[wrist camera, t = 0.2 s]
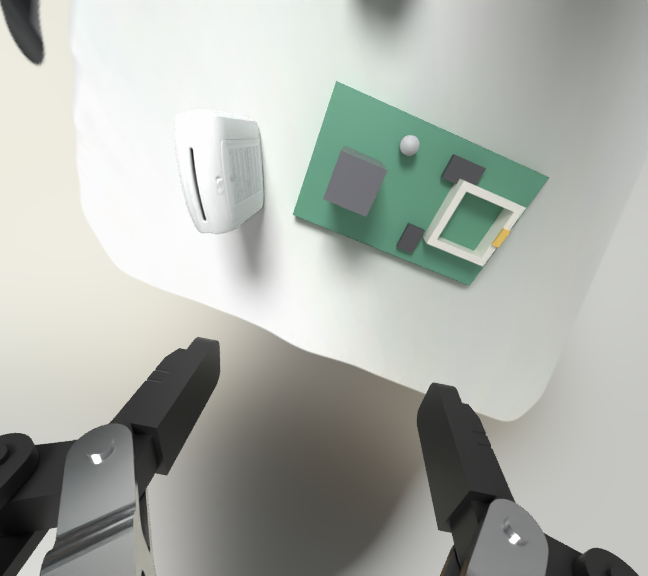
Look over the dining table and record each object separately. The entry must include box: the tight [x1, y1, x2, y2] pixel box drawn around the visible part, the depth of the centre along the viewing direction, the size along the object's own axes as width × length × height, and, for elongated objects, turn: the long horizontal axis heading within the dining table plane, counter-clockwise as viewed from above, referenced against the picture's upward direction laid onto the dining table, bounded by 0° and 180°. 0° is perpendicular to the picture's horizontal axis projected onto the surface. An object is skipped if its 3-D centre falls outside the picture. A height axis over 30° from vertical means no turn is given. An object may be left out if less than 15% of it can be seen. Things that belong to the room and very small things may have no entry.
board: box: [293, 81, 549, 286], centre depth 32 cm, size 14×24×3 cm, turn 69°
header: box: [423, 179, 526, 266], centre depth 32 cm, size 7×7×2 cm
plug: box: [323, 146, 388, 217], centre depth 28 cm, size 4×4×8 cm
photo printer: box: [175, 109, 264, 234], centre depth 28 cm, size 10×4×12 cm, turn 178°
